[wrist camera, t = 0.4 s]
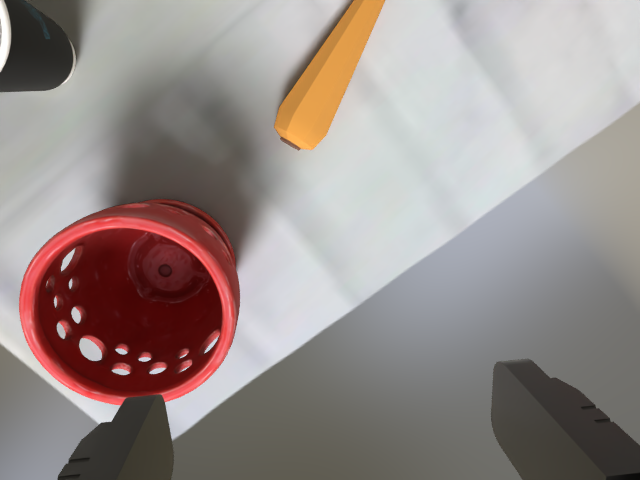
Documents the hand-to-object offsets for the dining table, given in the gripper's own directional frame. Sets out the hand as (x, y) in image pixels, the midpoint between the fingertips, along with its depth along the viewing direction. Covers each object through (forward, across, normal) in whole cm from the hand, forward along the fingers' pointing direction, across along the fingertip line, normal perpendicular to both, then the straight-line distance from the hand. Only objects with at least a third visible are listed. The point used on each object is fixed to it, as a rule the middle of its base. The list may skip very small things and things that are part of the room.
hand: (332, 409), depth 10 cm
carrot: (+29, -5, -13) cm, 32 cm away
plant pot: (+28, +11, +4) cm, 31 cm away
